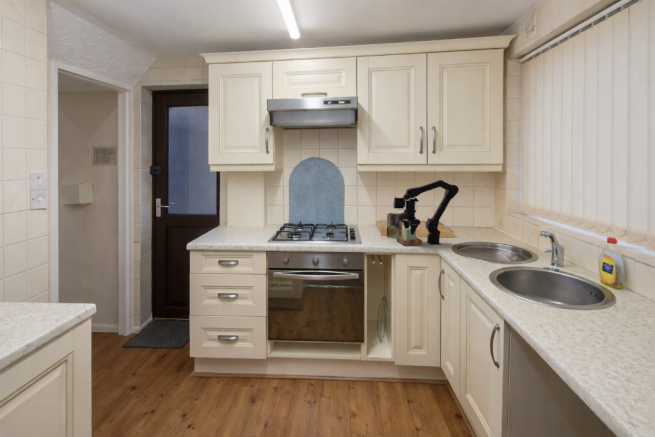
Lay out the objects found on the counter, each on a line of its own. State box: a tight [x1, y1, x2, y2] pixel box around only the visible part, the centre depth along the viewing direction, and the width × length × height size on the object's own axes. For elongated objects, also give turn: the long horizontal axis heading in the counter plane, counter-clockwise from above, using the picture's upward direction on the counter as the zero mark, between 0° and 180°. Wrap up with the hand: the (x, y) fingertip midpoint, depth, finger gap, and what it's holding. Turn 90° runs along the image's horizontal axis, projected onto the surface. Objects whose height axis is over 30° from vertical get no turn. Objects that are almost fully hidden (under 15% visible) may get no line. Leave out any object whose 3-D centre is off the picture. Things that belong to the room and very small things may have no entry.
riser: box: [396, 236, 423, 247], centre depth 225 cm, size 12×12×3 cm
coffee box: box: [386, 212, 403, 239], centre depth 242 cm, size 9×6×16 cm
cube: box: [402, 227, 417, 240], centre depth 224 cm, size 6×6×6 cm
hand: (409, 233), depth 224 cm, fingers open, 9 cm apart
